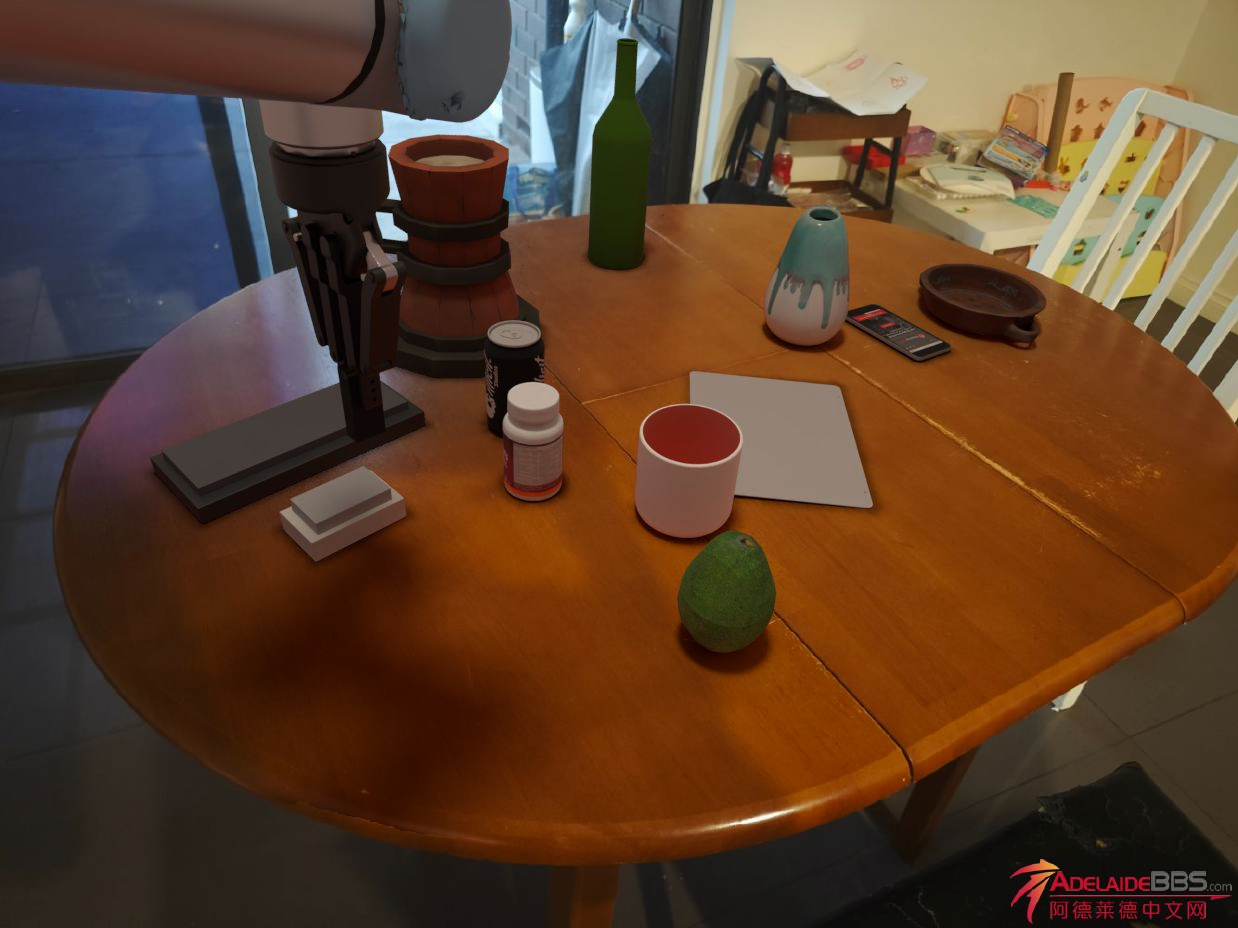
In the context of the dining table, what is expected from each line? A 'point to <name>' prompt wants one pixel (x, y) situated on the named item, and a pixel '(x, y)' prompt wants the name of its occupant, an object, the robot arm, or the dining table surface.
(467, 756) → the dining table surface
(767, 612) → the fruit
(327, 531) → the stepped grey block
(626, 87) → the wine bottle
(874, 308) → the smartphone
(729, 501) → the cup
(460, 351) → the tankard
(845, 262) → the vase
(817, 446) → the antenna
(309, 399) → the dark grey stepped slab
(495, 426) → the beverage can
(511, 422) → the pill bottle
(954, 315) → the dish
